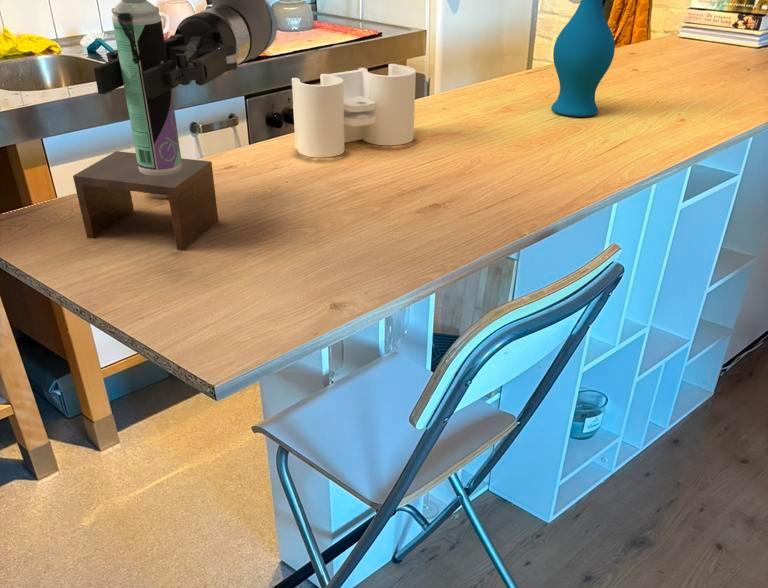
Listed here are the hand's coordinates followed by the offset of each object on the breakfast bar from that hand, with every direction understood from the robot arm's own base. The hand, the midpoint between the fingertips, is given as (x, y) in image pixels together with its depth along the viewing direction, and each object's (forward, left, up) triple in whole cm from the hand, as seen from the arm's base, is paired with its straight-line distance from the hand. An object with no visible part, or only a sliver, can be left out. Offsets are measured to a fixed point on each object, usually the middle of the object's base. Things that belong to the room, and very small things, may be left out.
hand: (122, 83), depth 93 cm
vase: (+45, +106, -25) cm, 118 cm away
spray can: (0, +5, -11) cm, 12 cm away
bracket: (+6, +69, -25) cm, 74 cm away
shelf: (-10, +18, -25) cm, 32 cm away
